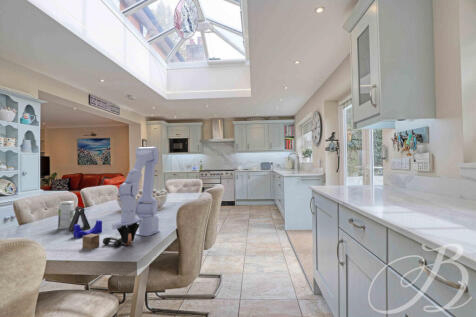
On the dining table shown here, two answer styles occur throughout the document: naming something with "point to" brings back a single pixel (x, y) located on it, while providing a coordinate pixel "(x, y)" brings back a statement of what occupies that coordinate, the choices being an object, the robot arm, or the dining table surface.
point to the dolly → (116, 238)
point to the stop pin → (129, 239)
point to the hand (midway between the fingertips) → (128, 242)
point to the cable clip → (79, 233)
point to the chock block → (90, 241)
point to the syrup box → (65, 214)
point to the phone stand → (76, 218)
